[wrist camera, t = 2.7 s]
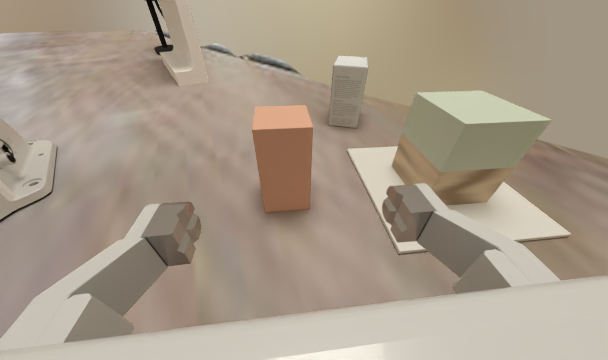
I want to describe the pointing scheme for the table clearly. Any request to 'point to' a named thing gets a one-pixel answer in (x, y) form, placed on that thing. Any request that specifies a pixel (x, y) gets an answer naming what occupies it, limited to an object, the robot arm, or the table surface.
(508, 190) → the felt pad
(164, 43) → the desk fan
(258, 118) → the terracotta block
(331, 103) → the small box
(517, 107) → the sage slab
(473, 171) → the wooden block
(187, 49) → the white stand
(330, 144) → the table surface
